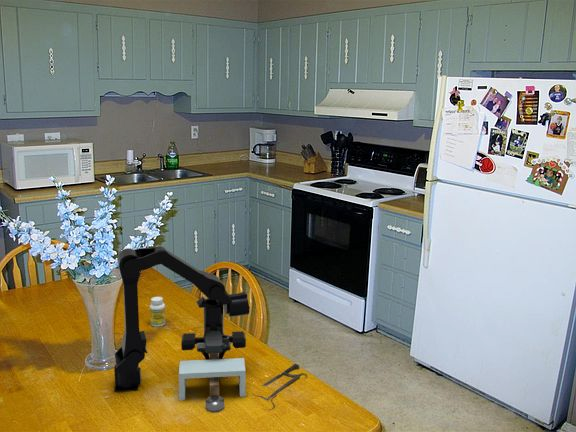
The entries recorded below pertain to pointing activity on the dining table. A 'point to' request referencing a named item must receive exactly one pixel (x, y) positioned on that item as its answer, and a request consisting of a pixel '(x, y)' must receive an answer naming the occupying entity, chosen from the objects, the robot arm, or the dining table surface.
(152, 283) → the dining table surface
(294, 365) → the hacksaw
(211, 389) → the walnut batten
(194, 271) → the robot arm
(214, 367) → the plinth bridge
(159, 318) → the supplement bottle
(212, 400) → the steel puck
